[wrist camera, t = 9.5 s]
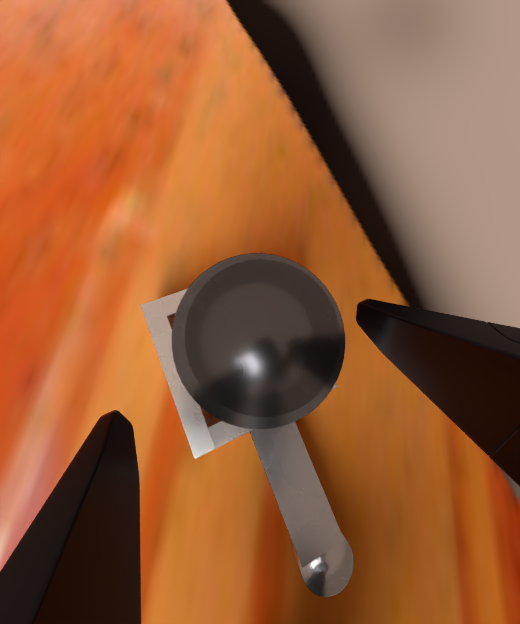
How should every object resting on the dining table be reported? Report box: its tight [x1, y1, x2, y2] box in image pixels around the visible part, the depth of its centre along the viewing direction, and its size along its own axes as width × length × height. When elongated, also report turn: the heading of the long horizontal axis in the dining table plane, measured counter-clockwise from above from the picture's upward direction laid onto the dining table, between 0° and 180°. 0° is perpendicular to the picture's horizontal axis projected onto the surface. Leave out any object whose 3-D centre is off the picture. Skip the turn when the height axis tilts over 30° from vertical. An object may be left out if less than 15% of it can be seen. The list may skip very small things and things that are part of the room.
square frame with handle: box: [141, 289, 354, 597], centre depth 15 cm, size 20×9×2 cm, turn 22°
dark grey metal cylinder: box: [172, 253, 345, 429], centre depth 11 cm, size 5×5×12 cm
